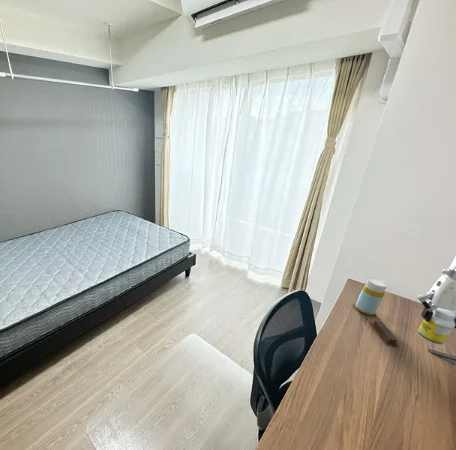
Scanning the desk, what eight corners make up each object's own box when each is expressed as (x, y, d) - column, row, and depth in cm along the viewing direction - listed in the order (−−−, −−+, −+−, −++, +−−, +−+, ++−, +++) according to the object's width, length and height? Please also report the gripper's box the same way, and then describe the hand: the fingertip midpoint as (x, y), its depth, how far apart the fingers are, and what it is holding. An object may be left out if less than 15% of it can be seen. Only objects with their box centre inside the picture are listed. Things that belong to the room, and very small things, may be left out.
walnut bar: (372, 324, 100) (375, 319, 99) (379, 325, 100) (382, 321, 99) (387, 343, 91) (390, 338, 90) (395, 345, 91) (398, 340, 90)
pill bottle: (417, 327, 88) (432, 301, 83) (444, 339, 83) (460, 312, 79) (415, 336, 84) (430, 310, 80) (443, 349, 79) (460, 321, 75)
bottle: (372, 308, 109) (386, 280, 104) (376, 318, 104) (390, 289, 98) (353, 302, 113) (365, 275, 107) (356, 311, 107) (368, 283, 101)
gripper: (435, 276, 74) (410, 321, 81) (517, 291, 68) (484, 339, 75) (422, 264, 81) (400, 307, 87) (496, 277, 74) (467, 322, 81)
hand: (439, 321), depth 81 cm, fingers closed on pill bottle, 6 cm apart
